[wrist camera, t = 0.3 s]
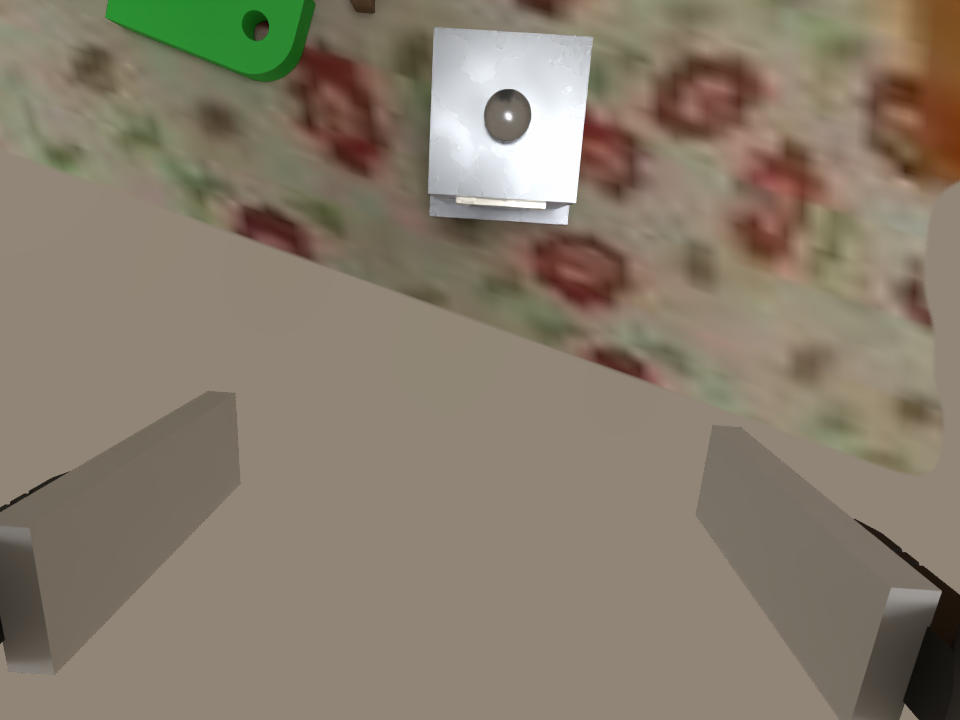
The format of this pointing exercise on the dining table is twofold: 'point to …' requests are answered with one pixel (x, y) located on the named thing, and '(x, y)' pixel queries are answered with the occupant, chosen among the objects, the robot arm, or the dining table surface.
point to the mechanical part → (224, 30)
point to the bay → (364, 5)
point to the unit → (506, 124)
